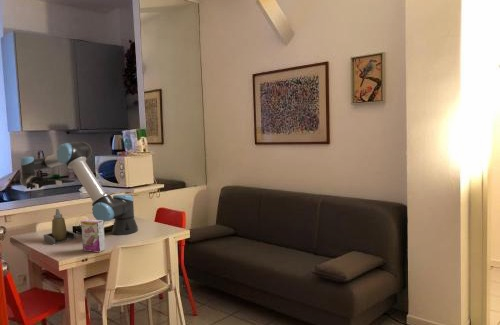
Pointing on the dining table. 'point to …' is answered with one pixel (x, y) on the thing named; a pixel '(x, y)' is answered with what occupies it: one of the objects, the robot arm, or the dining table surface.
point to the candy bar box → (93, 235)
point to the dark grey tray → (52, 240)
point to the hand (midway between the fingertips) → (49, 185)
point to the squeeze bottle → (58, 226)
